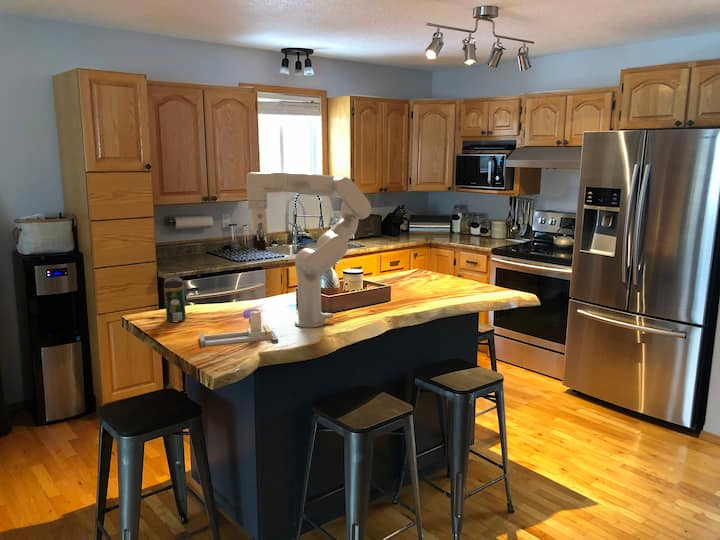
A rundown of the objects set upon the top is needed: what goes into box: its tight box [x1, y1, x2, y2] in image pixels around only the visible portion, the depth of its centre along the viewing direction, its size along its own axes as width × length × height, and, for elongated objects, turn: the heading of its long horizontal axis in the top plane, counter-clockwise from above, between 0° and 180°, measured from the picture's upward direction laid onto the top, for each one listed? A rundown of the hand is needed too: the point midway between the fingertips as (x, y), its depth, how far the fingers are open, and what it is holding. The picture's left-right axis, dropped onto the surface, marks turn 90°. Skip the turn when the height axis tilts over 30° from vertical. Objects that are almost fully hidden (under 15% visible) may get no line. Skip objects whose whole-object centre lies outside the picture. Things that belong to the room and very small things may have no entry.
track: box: [198, 324, 279, 348], centre depth 223 cm, size 28×12×4 cm, turn 108°
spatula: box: [243, 308, 260, 325], centre depth 251 cm, size 24×7×2 cm, turn 11°
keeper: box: [246, 310, 266, 337], centre depth 224 cm, size 6×6×9 cm
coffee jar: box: [163, 276, 187, 322], centre depth 252 cm, size 10×8×19 cm
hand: (259, 248), depth 230 cm, fingers open, 9 cm apart
